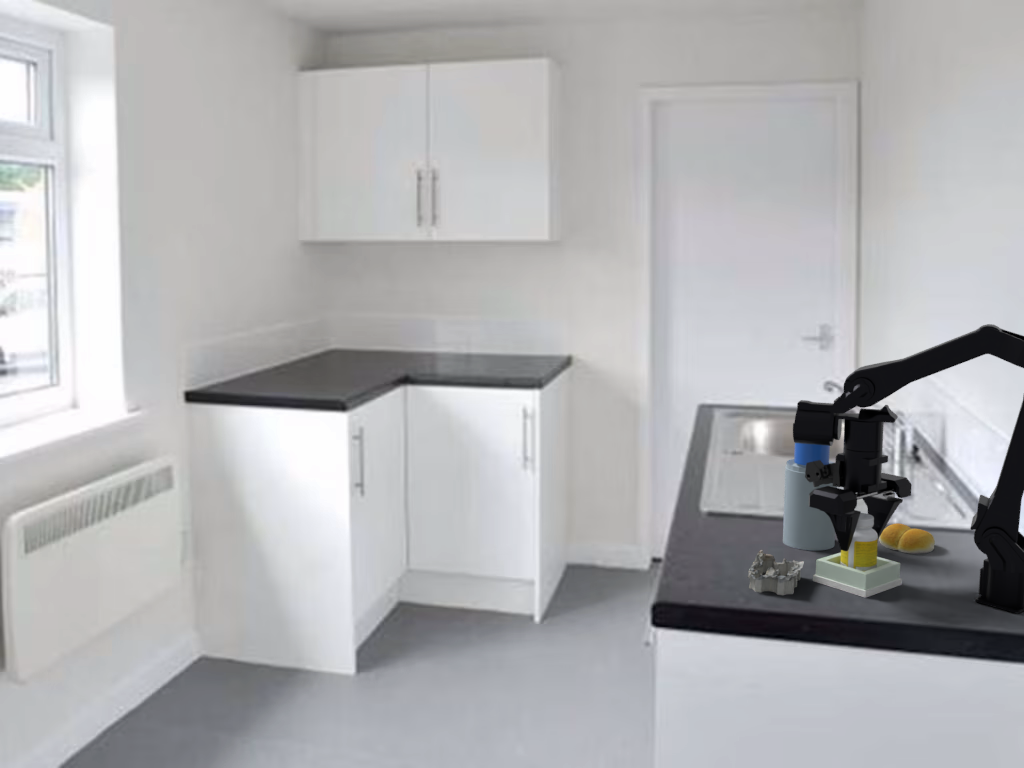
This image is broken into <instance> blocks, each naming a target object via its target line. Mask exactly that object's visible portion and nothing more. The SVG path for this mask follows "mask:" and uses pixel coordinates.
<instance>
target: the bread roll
mask: <svg viewBox="0 0 1024 768" xmlns="http://www.w3.org/2000/svg"><path fill="white" fill-rule="evenodd" d="M878 541H879V543H880V544H881V546H883V547H884V548H886V549H889V550H893V551H898V552H900V553H905V554H909V555H910V554H915V555H916V554H928V553H931V552H932V551H933V550H934V549H935V543H936V541H935V538H934V536H933V534H932V533H930V532H929V531H927V530H924V529H920V528H911V527H910V526H908V525H907V524H905V523H904V524H903V523H891V524H890V525H888V526H886V527H885V528H884V530H883V532H882V534H881V535H880V537H879V539H878Z"/></svg>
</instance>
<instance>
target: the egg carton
mask: <svg viewBox="0 0 1024 768" xmlns="http://www.w3.org/2000/svg"><path fill="white" fill-rule="evenodd" d="M804 563H805V561H797V560H795V559H793V560H792V561H789V560H787V559H786V558H782V562H776V559H775V556H774V555H772V554H769V553H764V549H760V550H759V551H758V552H757V554H756V555H755V559H754V561H753V562H752V564H751V565H750V568H749V569H748V572H747V573H748V574H747V575H748V576H747V579H749V586H748V588H749V590H750V589H751V590H753V591H754V592H755V593H760V594H761V593H763V592H772V593H775V594H776V595H778V596H785V595H793V594H794V592H795V588H797V587H798V581H800V580H801V570H802V569H803V567H804Z"/></svg>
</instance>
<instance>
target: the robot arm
mask: <svg viewBox="0 0 1024 768" xmlns="http://www.w3.org/2000/svg"><path fill="white" fill-rule="evenodd" d="M984 355H991V356H993V357H996V358H998V359H1000V360H1003V361H1005V362H1007V363H1010V364H1012V365H1014V366H1016V367H1019V368H1022V369H1024V335H1022V334H1019V333H1015V332H1013V331H1009V330H1006V329H1003V328H1001V327H1000V326H998V325H995V324H990V323H989V324H983V325H981V326H979V327H978V328H977V329H975V330H973V331H970V332H967V333H965V334H962V335H960V336H957V337H954V338H953V339H952V338H951V339H949V340H946V341H945V342H942V343H939V344H937V345H934V346H932V347H929V348H927V349H924V350H922V351H919V352H916V353H914V354H911V355H909V356H906V357H904V358H900V359H894V360H888V361H882V362H878V363H872V364H868V365H864V366H861V367H858V368H857V369H855V370H854V371H853V372H851V373H850V374H849V375H847V377H846V378H845V381H844V383H843V388H842V389H843V392H842V394H841V395H840V396H837V398H835V399H834V400H833V402H832V403H831V402H815V401H811V400H803V399H802V400H799V401H797V403H796V404H797V405H796V406H797V407H796V408H797V409H796V410H795V411H796V412H795V416H794V422H793V424H792V438H793V442H794V444H795V443H802V444H814V445H827V446H830V447H832V446H833V443H834V441H839V440H840V439H841V436H842V428H843V447H842V448H843V450H842V451H843V452H840V453H837V455H835V461H834V463H831V464H827V465H824V464H823V463H822V462H821V461H820V460H817V461H813V462H808V463H806V470H805V478H806V479H807V481H809V482H813V486H814V487H818V486H820V485H822V484H825V485H826V484H830V483H833V486H835V487H837V488H835V487H830V486H826V487H822V488H817V489H814V490H813V491H812V492H811V493H810V494H809V507H812V508H816V509H819V510H820V511H824V512H825V513H826V514H827V515H828V516H829V517H830V519H831V522H832V524H833V527H834V530H835V537H836V539H837V542H838V545H839V548H840V551H841V550H843V551H848V550H849V547H850V544H851V542H852V539H853V535H854V532H855V529H856V526H857V523H858V519H859V516H860V513H862V512H861V511H860V510H856V507H857V506H858V500H861V499H862V501H863V503H865V505H866V507H867V514H870V515H872V516H873V517H874V525H873V527H872V529H874V530H875V531H876V532H877V534H878V540H879V537H880V535H881V534H882V532H883V530H884V529H885V528H886V527H887V525H888V524H889V521H890V520H891V518H892V516H893V515H894V514H895V512H896V510H897V509H898V507H899V505H901V504H902V503H903V498H907V497H911V496H912V483H911V482H910V480H909V479H908V477H906V476H900V475H895V474H890V473H885V472H882V471H883V470H882V468H883V464H885V463H889V455H885V454H883V444H884V423H889V424H891V423H892V424H893V423H895V422H896V421H897V419H898V417H899V416H898V414H896V413H895V412H894V411H893V410H891V408H890V406H889V405H888V404H885V405H884V406H883V407H882V408H880V409H876V408H875V409H874V408H870V407H872V406H875V405H876V404H877V403H880V402H881V401H883V400H884V399H886V398H888V397H889V396H891V395H893V394H895V393H896V392H898V391H899V390H901V389H902V388H904V387H905V386H907V385H910V384H911V383H913V382H916V381H918V380H921V379H924V378H927V377H929V376H932V375H935V374H937V373H940V372H943V371H946V370H948V369H951V368H953V367H956V366H958V365H961V364H963V363H966V362H968V361H969V362H970V361H971V360H974V359H976V358H979V357H982V356H984ZM1022 398H1023V399H1022V402H1021V405H1020V409H1019V411H1018V415H1017V418H1016V421H1015V425H1014V428H1013V431H1012V434H1011V437H1010V441H1009V444H1008V447H1007V450H1006V454H1005V457H1004V460H1003V464H1002V466H1001V470H1000V473H999V477H998V479H997V483H996V486H995V488H994V489H993V491H992V493H991V494H990V496H989V497H988V496H985V495H983V494H979V498H978V503H977V510H976V513H975V514H974V515H973V516H972V519H971V523H970V531H974V533H973V542H974V543H975V545H976V547H977V548H978V550H979V551H980V552H982V553H983V554H984V555H986V558H985V559H983V562H982V563H983V565H982V567H980V569H979V581H978V583H979V584H978V594H979V596H977V597H975V599H974V600H975V602H977V603H980V604H983V605H986V606H990V607H994V608H997V609H1000V610H1004V611H1007V612H1011V613H1014V614H1021V613H1022V612H1024V535H1023V534H1022V533H1021V532H1020V531H1019V530H1020V519H1021V518H1020V517H1021V509H1022V498H1023V495H1024V394H1023V397H1022ZM857 407H858V408H860V410H859V413H856V412H855V413H852V412H849V411H850V410H852V409H854V408H857ZM842 420H844V424H843V422H842ZM842 424H843V425H844V427H842V426H843V425H842ZM896 496H897V497H896Z"/></svg>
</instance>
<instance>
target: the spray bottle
mask: <svg viewBox="0 0 1024 768" xmlns="http://www.w3.org/2000/svg"><path fill="white" fill-rule="evenodd" d="M830 448H831V446H827V445H814V444H802V443H795V442H794V456H793V457H794V458H791V459H789V460H786V465H785V466H784V468H785V469H784V488H783V489H784V495H783V496H784V497H783V525H782V529H783V530H782V543H783V545H785V546H787V547H790V548H794V549H797V550H803V551H825V550H826V551H827V550H830V549H832V548H835V541H836V533H835V530H834V527H833V524H832V522H831V519H830V517H829V516H828V515H827V514H826V513H825V512H824V511H820V510H819V509H816V508H812V507H809V494H810V493H811V492H812V491H813V490H814V489H817V488H822V487H826V486H830V487H835V486H833V483H830V484H826V485H825V484H822V485H820V486H818V487H814V486H813V482H809V481H807V479H806V478H805V470H806V463H808V462H813V461H817V460H820V461H821V462H822V463H823V464H824V465H827V464H831V463H835V461H831V460H830V451H831V450H830ZM835 488H838V487H835Z"/></svg>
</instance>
